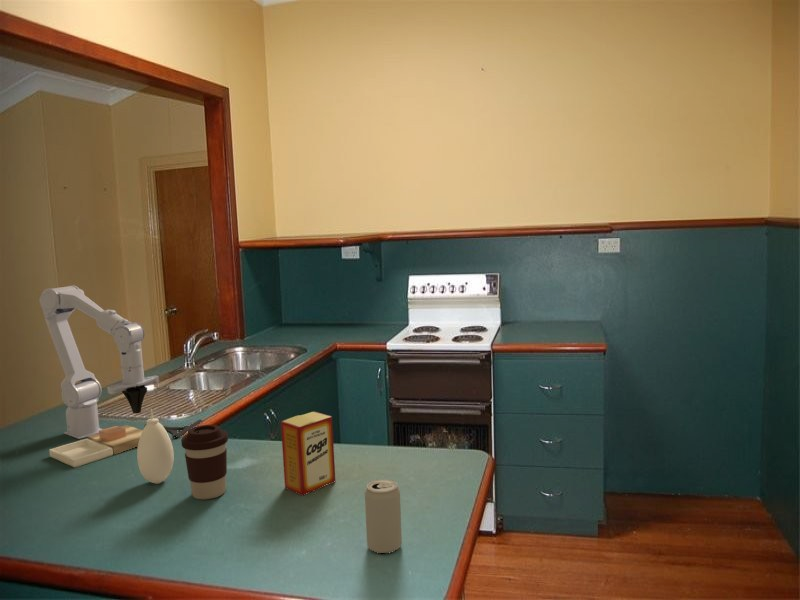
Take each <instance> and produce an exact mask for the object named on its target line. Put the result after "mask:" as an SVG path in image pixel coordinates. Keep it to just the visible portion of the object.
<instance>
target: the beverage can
mask: <svg viewBox="0 0 800 600" xmlns="http://www.w3.org/2000/svg"><path fill="white" fill-rule="evenodd" d="M398 486H399V484H398V482H396V481H394V480H391V479H387V478H385V479H384V478H381V479H375V480H372V481H370V482H369V483H367V484H366V490H365V491H364V501H365V504H364V505H365V521H366V522H365V524H366V525H365V526H366V527H365V528H366V529H365V530H366V546H367V548H368V549H369V550H370V551H371V552H373V551H374V552H373V553H375V552H378V553H389V552H392V551H394V552H396V551H397V550H399V548H400V547H401V546H402V543H403V540H402V539H403V538H402V511H401V507H402V506H401V490H400V488H399V487H398ZM395 550H396V551H395ZM378 553H377V554H378ZM392 553H393V552H392ZM389 554H390V553H389Z"/></svg>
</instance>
